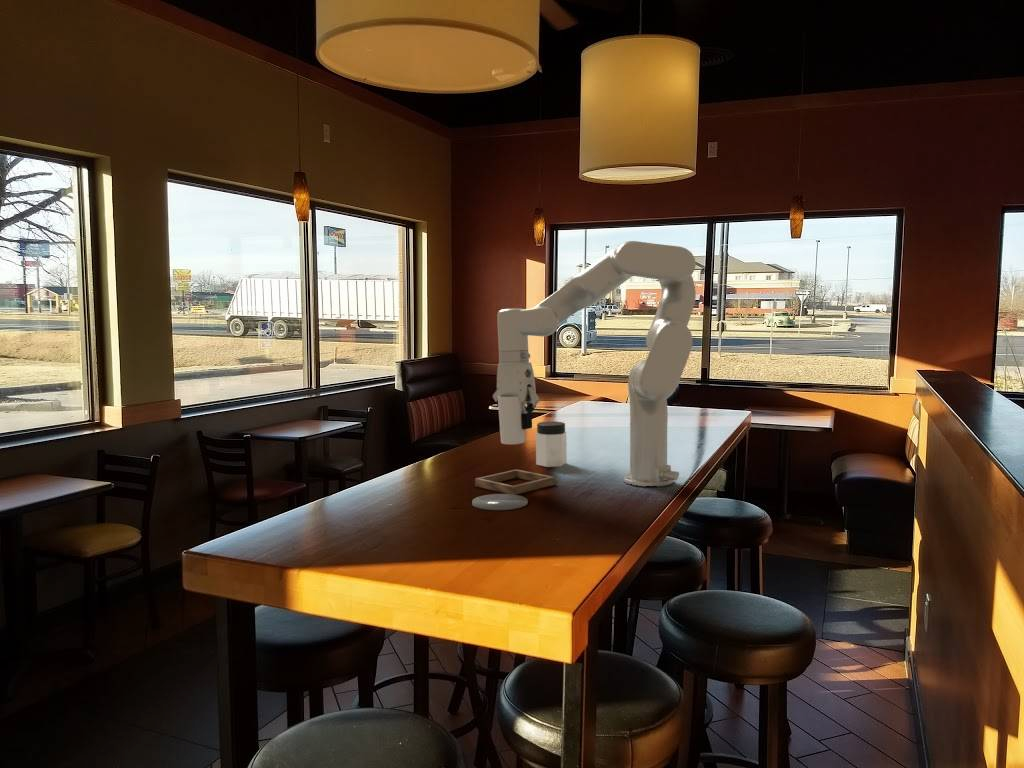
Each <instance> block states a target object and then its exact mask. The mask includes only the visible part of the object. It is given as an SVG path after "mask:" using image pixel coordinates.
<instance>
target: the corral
mask: <svg viewBox="0 0 1024 768" xmlns="http://www.w3.org/2000/svg"><path fill="white" fill-rule="evenodd" d="M555 477H556V476H553V475H547V474H541V473H538V472H537V473H536V472H531V471H527V470H522V469H521V470H520V469H516V468H515V469H512V470H508V471H503V472H499V473H494V474H490V475H486V476H480V477H476V478H474V486H475V487H476V488H477V487H478V488H481V489H486V490H490V491H493V492H498V493H501V494H513V495H520V494H525V493H527V492H532V491H535V490H540V489H543V488H547V487H551V486H554V485H556V478H555ZM513 479H521V480H526V481H527V482H523V483H519V484H515V485H511V484H506V483H503V482H505V481H509V480H513Z"/></svg>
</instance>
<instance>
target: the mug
mask: <svg viewBox="0 0 1024 768" xmlns="http://www.w3.org/2000/svg"><path fill="white" fill-rule="evenodd" d="M497 408H498V419H499V420H498V421H499V435H500V443H501V444H503V445H520V444H524V443H525V442H526V429H522V419H521V414H523V411H522V407H521V403H520V402H519V396H518V397H501V395H499V396H498V405H497Z"/></svg>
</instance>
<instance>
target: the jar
mask: <svg viewBox="0 0 1024 768" xmlns="http://www.w3.org/2000/svg"><path fill="white" fill-rule="evenodd" d="M535 455H536V456H535V464H536V465H537V466H540V467H545V468H555V467H557V468H558V467H563V466H564V465H566V464H567V463H568V462H567V459H568V458H567V431H566V423H565V422H564V421H563V422H562V421H553V420H552V421H551V420H549V421H541V422H537V424H536V433H535Z"/></svg>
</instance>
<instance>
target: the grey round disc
mask: <svg viewBox="0 0 1024 768" xmlns="http://www.w3.org/2000/svg"><path fill="white" fill-rule="evenodd" d="M471 502H472V503H471V505H472V506H473V507H474V508H476V509H480V510H486V511H510V510H512V511H513V510H516V509H517V510H518V509H521V508H523V507H526V506H527V505H528V504H529V503H528V502H529V501H528V498H526V497H525V496H523V495H520V494H516V495H513V494H506V493H493V494H491V493H490V494H484V495H480V496H476V497H475V498H473V499H472V501H471Z"/></svg>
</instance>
